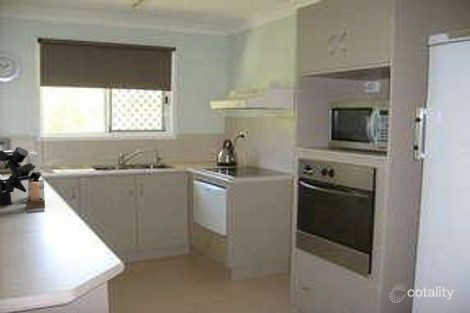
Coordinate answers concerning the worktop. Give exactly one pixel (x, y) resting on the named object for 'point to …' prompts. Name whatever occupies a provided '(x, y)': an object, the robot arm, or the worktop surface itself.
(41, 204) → the socket block
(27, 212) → the mat
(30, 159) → the skyscraper
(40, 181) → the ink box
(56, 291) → the worktop surface
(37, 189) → the peg
